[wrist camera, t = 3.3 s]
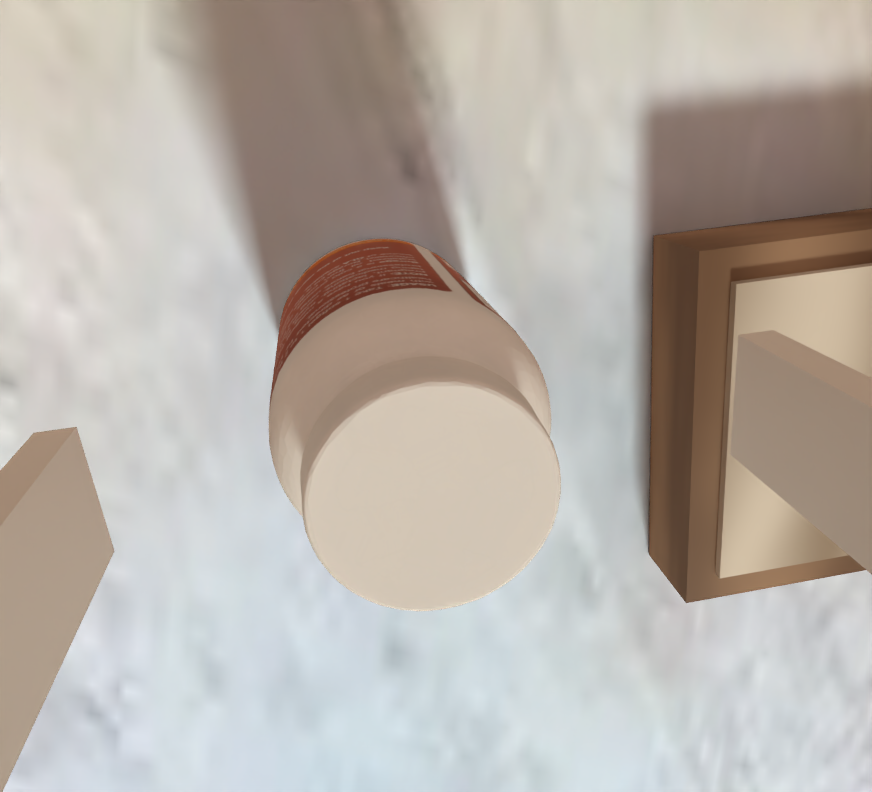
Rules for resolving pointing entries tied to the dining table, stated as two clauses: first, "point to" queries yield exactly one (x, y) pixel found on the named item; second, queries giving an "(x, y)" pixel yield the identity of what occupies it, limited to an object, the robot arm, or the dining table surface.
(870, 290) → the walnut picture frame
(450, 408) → the pill bottle
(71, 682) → the dining table surface
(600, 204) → the dining table surface
